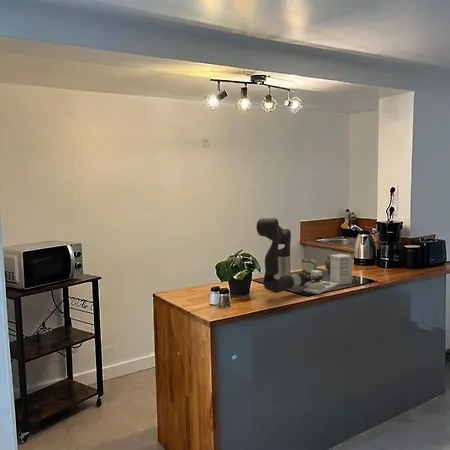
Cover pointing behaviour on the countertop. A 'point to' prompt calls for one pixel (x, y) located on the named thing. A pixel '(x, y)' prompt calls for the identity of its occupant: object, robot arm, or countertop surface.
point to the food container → (309, 265)
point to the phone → (307, 284)
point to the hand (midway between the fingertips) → (316, 276)
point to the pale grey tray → (323, 288)
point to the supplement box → (341, 269)
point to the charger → (316, 273)
